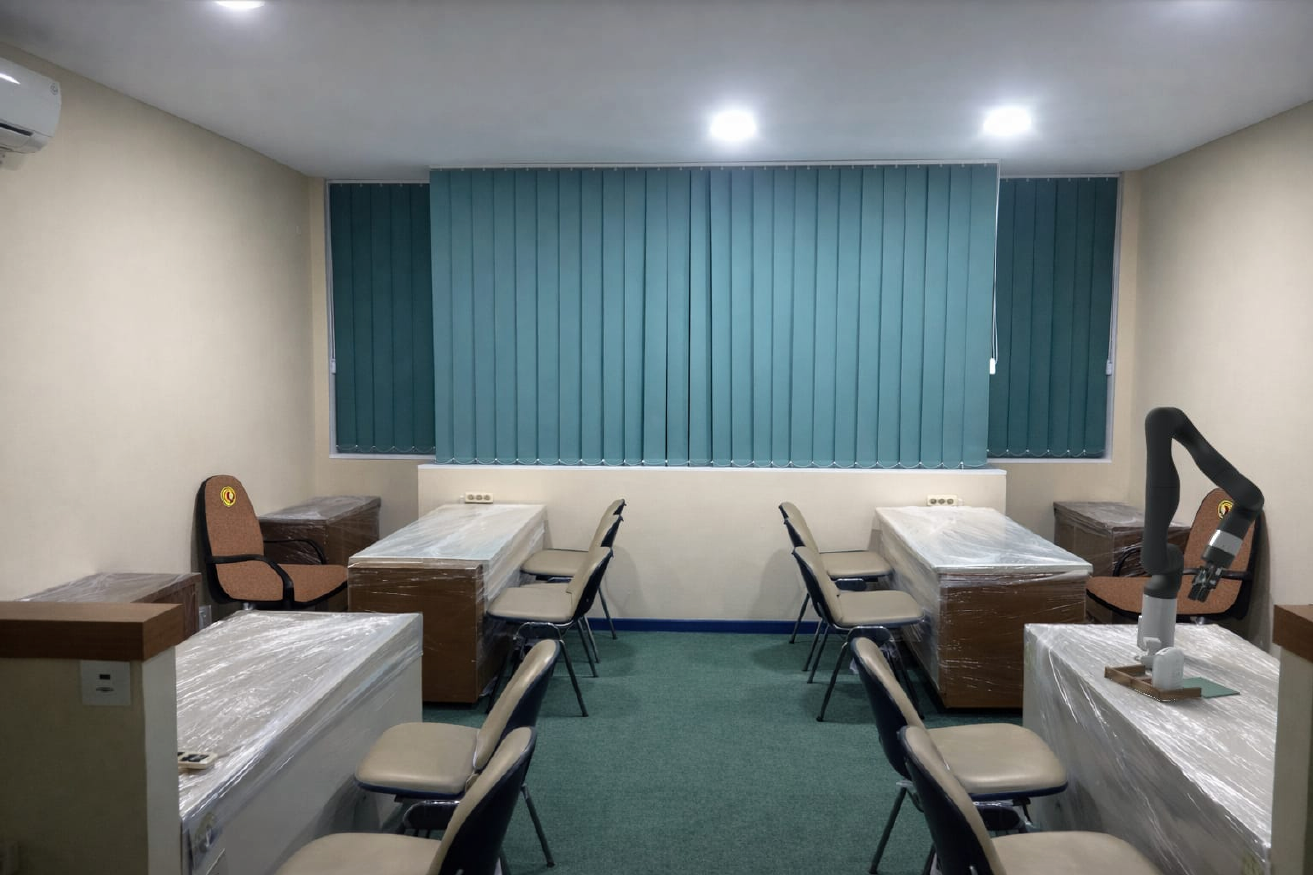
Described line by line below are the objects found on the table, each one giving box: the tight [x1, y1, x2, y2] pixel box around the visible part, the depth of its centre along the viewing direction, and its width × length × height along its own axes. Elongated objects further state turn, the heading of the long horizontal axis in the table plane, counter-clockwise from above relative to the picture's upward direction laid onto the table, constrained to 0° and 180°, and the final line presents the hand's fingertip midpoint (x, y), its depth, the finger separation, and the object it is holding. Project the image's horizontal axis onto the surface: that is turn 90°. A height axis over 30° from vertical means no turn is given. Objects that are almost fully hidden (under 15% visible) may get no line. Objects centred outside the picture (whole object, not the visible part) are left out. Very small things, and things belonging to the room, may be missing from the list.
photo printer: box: [1151, 646, 1185, 691], centre depth 240 cm, size 10×4×12 cm, turn 123°
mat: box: [1182, 676, 1241, 699], centre depth 244 cm, size 12×12×1 cm
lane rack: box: [1104, 663, 1202, 701], centre depth 244 cm, size 19×14×3 cm
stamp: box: [1133, 637, 1161, 670], centre depth 260 cm, size 9×7×8 cm
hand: (1195, 600), depth 253 cm, fingers open, 8 cm apart
